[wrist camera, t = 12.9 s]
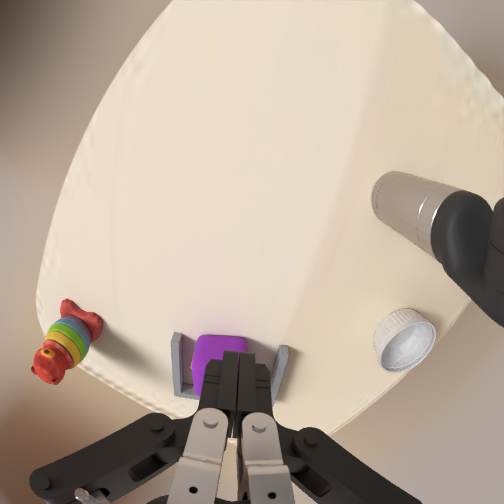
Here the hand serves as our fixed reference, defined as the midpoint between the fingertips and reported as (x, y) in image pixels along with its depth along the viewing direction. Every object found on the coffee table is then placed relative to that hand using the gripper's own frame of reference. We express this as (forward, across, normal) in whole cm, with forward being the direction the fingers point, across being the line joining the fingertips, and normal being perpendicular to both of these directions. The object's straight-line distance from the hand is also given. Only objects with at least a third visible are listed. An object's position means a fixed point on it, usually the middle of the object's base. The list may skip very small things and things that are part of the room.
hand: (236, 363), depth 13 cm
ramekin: (+32, -34, +20) cm, 51 cm away
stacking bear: (+32, +33, +28) cm, 54 cm away
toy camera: (+32, +1, +30) cm, 44 cm away
